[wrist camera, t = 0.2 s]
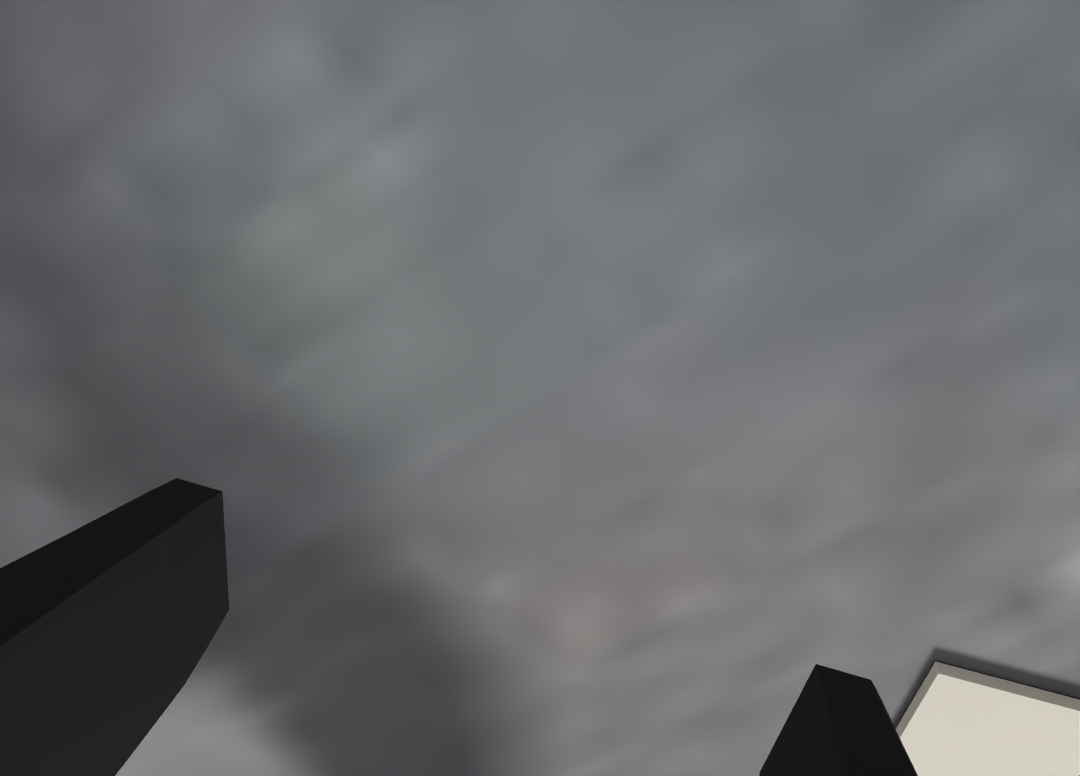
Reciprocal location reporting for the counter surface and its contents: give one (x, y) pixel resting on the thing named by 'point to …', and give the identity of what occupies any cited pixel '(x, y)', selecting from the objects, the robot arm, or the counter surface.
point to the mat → (989, 727)
